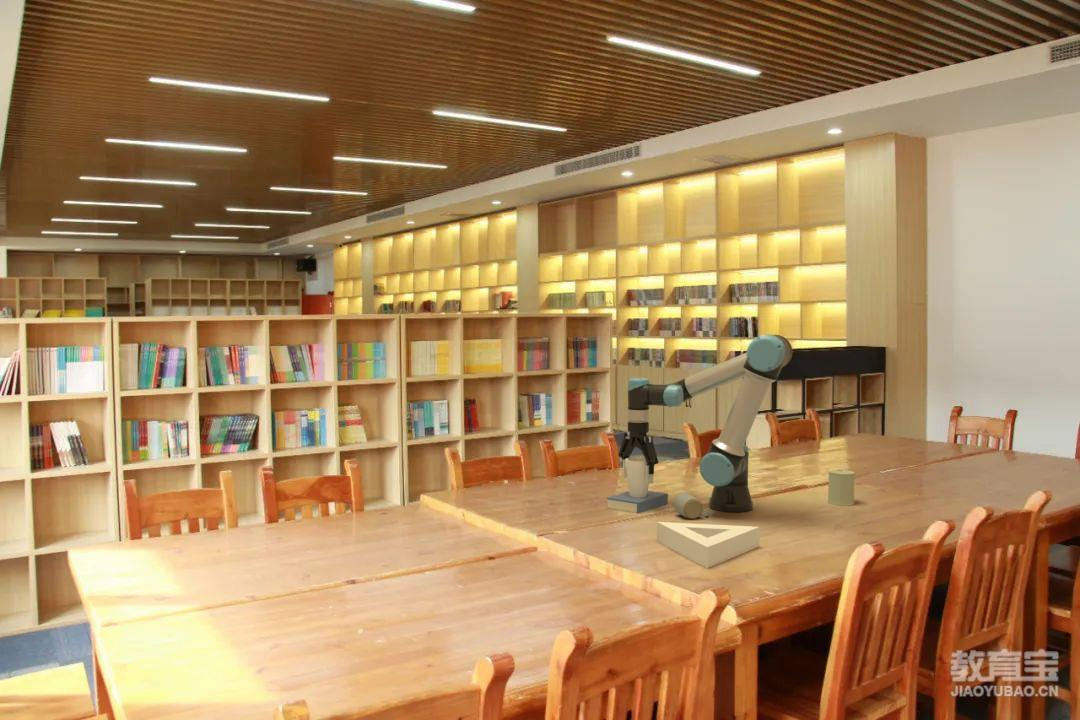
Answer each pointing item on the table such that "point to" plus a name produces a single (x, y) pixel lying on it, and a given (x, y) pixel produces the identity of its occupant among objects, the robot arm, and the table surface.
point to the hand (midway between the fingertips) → (637, 480)
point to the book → (637, 501)
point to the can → (841, 487)
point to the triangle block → (708, 540)
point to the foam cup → (636, 476)
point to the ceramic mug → (688, 506)
